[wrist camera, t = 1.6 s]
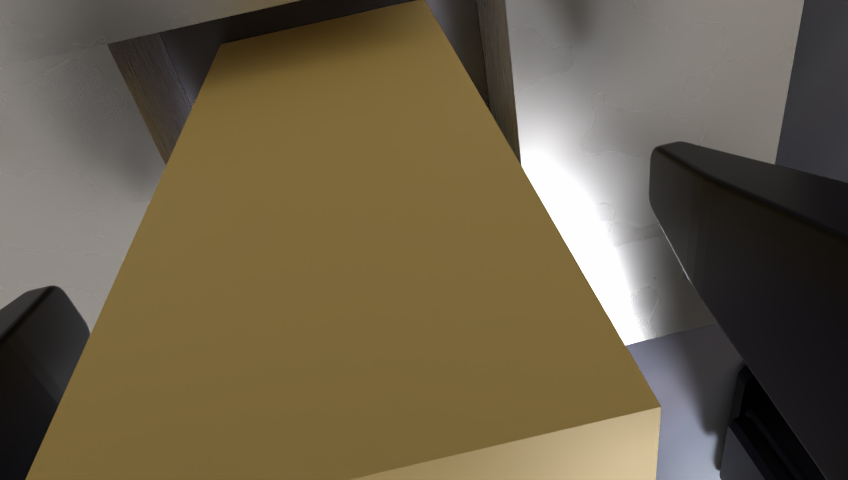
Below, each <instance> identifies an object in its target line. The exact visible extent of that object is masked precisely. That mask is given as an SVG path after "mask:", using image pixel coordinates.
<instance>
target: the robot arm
mask: <svg viewBox="0 0 848 480" xmlns="http://www.w3.org/2000/svg"><path fill="white" fill-rule="evenodd" d="M649 201H650V205H651V208H652V210H653V212H654V214H655V216H656V218H657V220H658V222H659V224H660V226H661V228H662V230H663V232H664V233H665V235H666V237H667V239H668V241H669V243H670V245H671V247H672V249H673V251H674V253H675V254H676V256H677V258H678V260H679V262H680V264H681V266H682V268H683V270H684V272H685V274H686V275H687V277H688V279H689V281H690V282H691V284H692V286H693V287H694V289H695V290H696V292H697V294H698V295H699V297H700V298H701V300H702V301H703V302H704V304H705V305H706V307H707V308H708V310H709V311H710V312H711V314H712V315H713V317H714V318H715V320H716V321H717V323H718V324H719V325H720V327H721V328H722V330H723V331H724V333H725V334H726V335H727V337H728V338H729V340H730V341H731V343H732V344H733V346H734V347H735V348H736V350H737V351H738V353H739V354H740V356H741V357H742V358H743V360H744V361H745V363H746V364H747V365H746V366H745V367H743V369H742V370H741V371H740V372H739V374H738V377H737V383H736V388H735V394H734V399H733V405H732V410H731V416H730V421H729V425H728V429H727V434H726V440H725V445H724V451H723V456H722V462H721V471H720V479H721V480H848V183H846V182H842V181H838V180H834V179H830V178H826V177H822V176H818V175H814V174H810V173H806V172H802V171H798V170H794V169H790V168H786V167H782V166H779V165H775V164H771V163H767V162H763V161H759V160H755V159H751V158H747V157H743V156H739V155H735V154H731V153H727V152H723V151H719V150H715V149H711V148H707V147H703V146H699V145H695V144H691V143H687V142H683V141H677V142H673V143H668V144H664V145H660V146H657V147H655V148H654V149H653V150H652V153H651V156H650V174H649ZM89 337H90V329H89V327H88V325H87V323H86V321H85V320H84V318H83V317H82V315H81V314H80V313H79V311H78V310H77V308H76V307H75V305H74V304H73V302H72V301H71V300H70V298H69V297H68V295H67V294H66V293H65V291H64V290H63V289H61V288H60V287H58V286H54V285H51V286H46V287H42V288H37V289H33V290H29V291H27V292H25V293H23V294H22V295H20V296H19V297H18V298H16V299H15V300H13V301H12V302H11V303H9V304H8V305H6V306H5V307H3V308H2V309H1V310H0V480H25V479H26V477H27V475H28V473H29V470H30V468H31V466H32V464H33V461H34V459H35V457H36V455H37V453H38V450H39V448H40V446H41V444H42V441H43V439H44V437H45V435H46V433H47V430H48V428H49V426H50V424H51V421H52V419H53V417H54V415H55V412H56V410H57V408H58V406H59V404H60V401H61V399H62V397H63V395H64V392H65V390H66V388H67V386H68V383H69V381H70V379H71V377H72V375H73V372H74V370H75V368H76V366H77V363H78V361H79V359H80V357H81V355H82V352H83V350H84V348H85V346H86V343H87V341H88V339H89Z"/></svg>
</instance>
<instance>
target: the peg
mask: <svg viewBox="0 0 848 480" xmlns="http://www.w3.org/2000/svg"><path fill="white" fill-rule="evenodd" d="M660 417H661V406H660V404H659V402H658V400H657V399H656V397H655V395H654V393H653V392H652V390H651V388H650V387H649V385H648V383H647V381H646V380H645V378H644V376H643V375H642V373H641V371H640V369H639V368H638V366H637V364H636V362H635V361H634V359H633V357H632V356H631V354H630V352H629V350H628V349H627V347H626V345H625V344H624V342H623V340H622V338H621V337H620V335H619V333H618V331H617V330H616V328H615V326H614V325H613V323H612V321H611V319H610V318H609V316H608V314H607V313H606V311H605V309H604V307H603V306H602V304H601V302H600V300H599V299H598V297H597V295H596V294H595V292H594V290H593V288H592V287H591V285H590V283H589V282H588V280H587V278H586V276H585V275H584V273H583V271H582V270H581V268H580V266H579V264H578V263H577V261H576V259H575V257H574V256H573V254H572V252H571V251H570V249H569V247H568V245H567V244H566V242H565V240H564V239H563V237H562V235H561V233H560V232H559V230H558V228H557V226H556V225H555V223H554V221H553V220H552V218H551V216H550V214H549V213H548V211H547V209H546V208H545V206H544V204H543V202H542V201H541V199H540V197H539V195H538V194H537V192H536V190H535V189H534V187H533V185H532V183H531V182H530V180H529V178H528V177H527V175H526V173H525V171H524V170H523V168H522V166H521V164H520V163H519V161H518V159H517V158H516V156H515V154H514V152H513V151H512V149H511V147H510V146H509V144H508V142H507V140H506V139H505V137H504V135H503V133H502V132H501V130H500V128H499V127H498V125H497V123H496V121H495V120H494V118H493V116H492V115H491V113H490V111H489V109H488V108H487V106H486V104H485V102H484V101H483V99H482V97H481V96H480V94H479V92H478V90H477V89H476V87H475V85H474V84H473V82H472V80H471V78H470V77H469V75H468V73H467V71H466V70H465V68H464V66H463V65H462V63H461V61H460V59H459V58H458V56H457V54H456V53H455V51H454V49H453V47H452V46H451V44H450V42H449V40H448V39H447V37H446V35H445V34H444V32H443V30H442V28H441V27H440V25H439V23H438V22H437V20H436V18H435V16H434V15H433V13H432V11H431V9H430V8H429V6H428V4H427V3H426V1H425V0H415V1H410V2H406V3H402V4H397V5H393V6H388V7H384V8H379V9H375V10H371V11H366V12H362V13H357V14H353V15H348V16H344V17H340V18H335V19H331V20H326V21H322V22H317V23H313V24H309V25H304V26H300V27H295V28H291V29H286V30H282V31H278V32H273V33H269V34H264V35H260V36H255V37H251V38H247V39H242V40H238V41H233V42H229V43H224V44H221V45H220V47H219V49H218V51H217V54H216V56H215V58H214V60H213V63H212V65H211V67H210V69H209V71H208V74H207V76H206V78H205V80H204V83H203V85H202V87H201V89H200V92H199V94H198V96H197V98H196V100H195V103H194V105H193V107H192V109H191V112H190V114H189V116H188V118H187V121H186V123H185V125H184V127H183V129H182V132H181V134H180V136H179V138H178V141H177V143H176V145H175V147H174V149H173V152H172V154H171V156H170V158H169V161H168V163H167V165H166V167H165V170H164V172H163V174H162V176H161V178H160V181H159V183H158V185H157V187H156V190H155V192H154V194H153V196H152V199H151V201H150V203H149V205H148V207H147V210H146V212H145V214H144V216H143V219H142V221H141V223H140V225H139V227H138V230H137V232H136V234H135V236H134V239H133V241H132V243H131V245H130V248H129V250H128V252H127V254H126V256H125V259H124V261H123V263H122V265H121V268H120V270H119V272H118V274H117V277H116V279H115V281H114V283H113V285H112V288H111V290H110V292H109V294H108V297H107V299H106V301H105V303H104V305H103V308H102V310H101V312H100V314H99V317H98V319H97V321H96V323H95V326H94V328H93V330H92V332H91V334H90V337H89V339H88V341H87V343H86V346H85V348H84V350H83V352H82V355H81V357H80V359H79V361H78V363H77V366H76V368H75V370H74V372H73V375H72V377H71V379H70V381H69V383H68V386H67V388H66V390H65V392H64V395H63V397H62V399H61V401H60V404H59V406H58V408H57V410H56V412H55V415H54V417H53V419H52V421H51V424H50V426H49V428H48V430H47V433H46V435H45V437H44V439H43V441H42V444H41V446H40V448H39V450H38V453H37V455H36V457H35V459H34V461H33V464H32V466H31V468H30V470H29V473H28V475H27V477H26V479H25V480H656V469H657V456H658V443H659V430H660Z"/></svg>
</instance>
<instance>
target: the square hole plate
mask: <svg viewBox="0 0 848 480" xmlns="http://www.w3.org/2000/svg"><path fill="white" fill-rule="evenodd" d="M295 1H300V0H0V310H1V309H2V308H3V307H5V306H6V305H8V304H9V303H11V302H12V301H13V300H15V299H16V298H18V297H19V296H20V295H22V294H23V293H25V292H27V291H29V290H33V289H37V288H42V287H46V286H51V285H54V286H58V287H60V288H61V289H63V290H64V291H65V293H66V294H67V295H68V297H69V298H70V300H71V301H72V302H73V304H74V305H75V307H76V308H77V310H78V311H79V313H80V314H81V315H82V317H83V318H84V320H85V321H86V323H87V325H88V327H89V329H90V334H91V332H92V330H93V328H94V326H95V323H96V321H97V319H98V317H99V314H100V312H101V310H102V308H103V305H104V303H105V301H106V299H107V297H108V294H109V292H110V290H111V288H112V285H113V283H114V281H115V279H116V277H117V274H118V272H119V270H120V268H121V265H122V263H123V261H124V259H125V256H126V254H127V252H128V250H129V248H130V245H131V243H132V241H133V239H134V236H135V234H136V232H137V230H138V227H139V225H140V223H141V221H142V219H143V216H144V214H145V212H146V210H147V207H148V205H149V203H150V201H151V199H152V196H153V194H154V192H155V190H156V187H157V185H158V183H159V181H160V178H161V176H162V174H163V172H164V170H165V167H166V165H167V163H168V161H169V158H170V156H171V154H172V152H173V149H174V147H175V145H176V143H177V141H178V138H179V136H180V134H181V132H182V129H183V127H184V125H185V123H186V121H187V118H188V116H189V114H190V112H191V109H192V108H191V106H190V103H189V101H188V99H187V96H186V94H185V92H184V89H183V87H182V85H181V82H180V80H179V78H178V75H177V73H176V71H175V68H174V66H173V64H172V62H171V59H170V57H169V55H168V52H167V50H166V48H165V45H164V43H163V41H162V38H161V36H160V34H159V32H162V31H167V30H171V29H176V28H180V27H184V26H189V25H193V24H198V23H202V22H207V21H211V20H216V19H220V18H224V17H229V16H233V15H238V14H242V13H247V12H251V11H256V10H260V9H264V8H269V7H273V6H278V5H282V4H287V3H291V2H295ZM803 5H804V0H477V7H478V15H479V23H480V31H481V40H482V48H483V56H484V64H485V72H486V80H487V88H488V96H489V104H490V112H491V115H492V116H493V118H494V120H495V121H496V123H497V125H498V127H499V128H500V130H501V132H502V133H503V135H504V137H505V139H506V140H507V142H508V144H509V146H510V147H511V149H512V151H513V152H514V154H515V156H516V158H517V159H518V161H519V163H520V164H521V166H522V168H523V170H524V171H525V173H526V175H527V177H528V178H529V180H530V182H531V183H532V185H533V187H534V189H535V190H536V192H537V194H538V195H539V197H540V199H541V201H542V202H543V204H544V206H545V208H546V209H547V211H548V213H549V214H550V216H551V218H552V220H553V221H554V223H555V225H556V226H557V228H558V230H559V232H560V233H561V235H562V237H563V239H564V240H565V242H566V244H567V245H568V247H569V249H570V251H571V252H572V254H573V256H574V257H575V259H576V261H577V263H578V264H579V266H580V268H581V270H582V271H583V273H584V275H585V276H586V278H587V280H588V282H589V283H590V285H591V287H592V288H593V290H594V292H595V294H596V295H597V297H598V299H599V300H600V302H601V304H602V306H603V307H604V309H605V311H606V313H607V314H608V316H609V318H610V319H611V321H612V323H613V325H614V326H615V328H616V330H617V331H618V333H619V335H620V337H621V338H622V340H623V342H624V344H625V345H627V344H632V343H636V342H640V341H644V340H649V339H653V338H657V337H662V336H666V335H670V334H675V333H679V332H683V331H687V330H692V329H696V328H700V327H705V326H709V325H713V324H718V323H717V321H716V320H715V318H714V317H713V315H712V314H711V312H710V311H709V310H708V308H707V307H706V305H705V304H704V302H703V301H702V300H701V298H700V297H699V295H698V294H697V292H696V290H695V289H694V287H693V286H692V284H691V282H690V281H689V279H688V277H687V275H686V274H685V272H684V270H683V268H682V266H681V264H680V262H679V260H678V258H677V256H676V254H675V253H674V251H673V249H672V247H671V245H670V243H669V241H668V239H667V237H666V235H665V233H664V232H663V230H662V228H661V226H660V224H659V222H658V220H657V218H656V216H655V214H654V212H653V210H652V208H651V205H650V201H649V174H650V156H651V153H652V150H653V149H654V148H655V147H657V146H660V145H664V144H668V143H673V142H677V141H683V142H687V143H691V144H695V145H699V146H703V147H707V148H711V149H715V150H719V151H723V152H727V153H731V154H735V155H739V156H743V157H747V158H751V159H755V160H759V161H763V162H767V163H771V164H775V160H776V155H777V149H778V144H779V138H780V132H781V127H782V121H783V116H784V110H785V105H786V99H787V94H788V88H789V82H790V77H791V71H792V66H793V60H794V55H795V49H796V44H797V38H798V33H799V27H800V21H801V16H802V10H803Z"/></svg>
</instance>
